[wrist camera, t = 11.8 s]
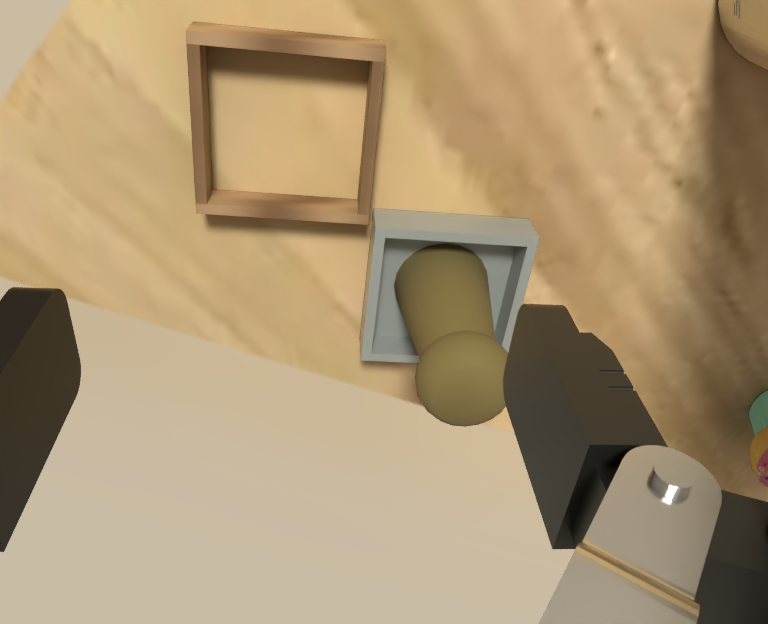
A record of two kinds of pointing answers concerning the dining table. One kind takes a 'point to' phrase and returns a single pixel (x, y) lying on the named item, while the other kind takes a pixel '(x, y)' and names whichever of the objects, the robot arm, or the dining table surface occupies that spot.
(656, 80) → the dining table surface
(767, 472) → the cupcake
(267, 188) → the dining table surface
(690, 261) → the dining table surface
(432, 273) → the olive pawn
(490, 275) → the grey tray
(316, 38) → the walnut frame
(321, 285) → the dining table surface
